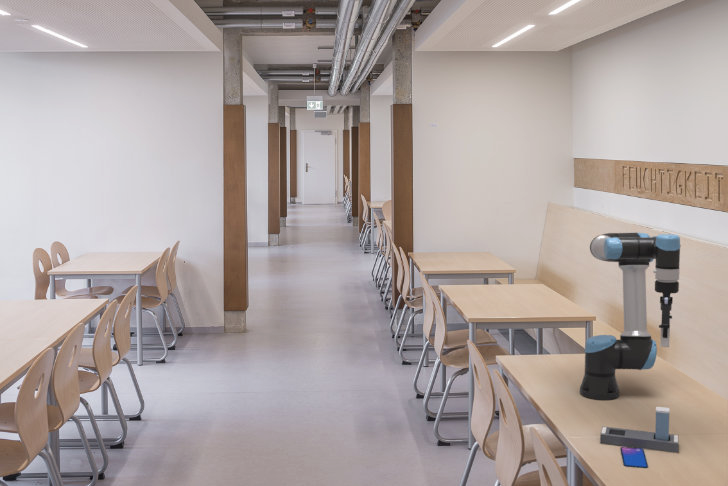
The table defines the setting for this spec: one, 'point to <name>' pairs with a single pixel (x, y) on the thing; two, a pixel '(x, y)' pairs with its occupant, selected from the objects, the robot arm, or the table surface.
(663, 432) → the plug
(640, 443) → the panel
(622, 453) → the smartphone
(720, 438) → the table surface
